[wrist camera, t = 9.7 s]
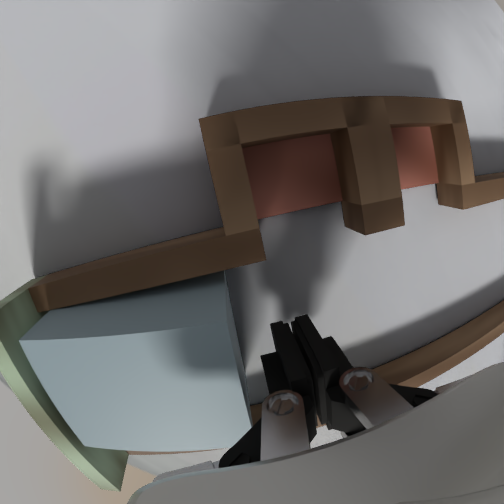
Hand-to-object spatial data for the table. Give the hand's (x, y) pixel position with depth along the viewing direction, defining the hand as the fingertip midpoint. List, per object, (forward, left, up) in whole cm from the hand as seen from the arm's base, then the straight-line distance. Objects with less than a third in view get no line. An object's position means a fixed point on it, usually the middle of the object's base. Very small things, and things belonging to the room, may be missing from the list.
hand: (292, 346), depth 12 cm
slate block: (+1, +6, -2) cm, 7 cm away
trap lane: (+2, -4, -1) cm, 4 cm away
